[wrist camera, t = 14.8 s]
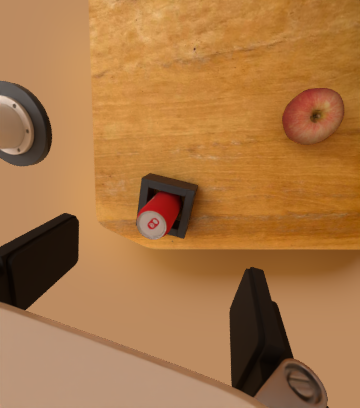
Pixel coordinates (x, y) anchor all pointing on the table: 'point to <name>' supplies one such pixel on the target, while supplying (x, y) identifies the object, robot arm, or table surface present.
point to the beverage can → (159, 215)
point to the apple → (313, 115)
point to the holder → (172, 187)
